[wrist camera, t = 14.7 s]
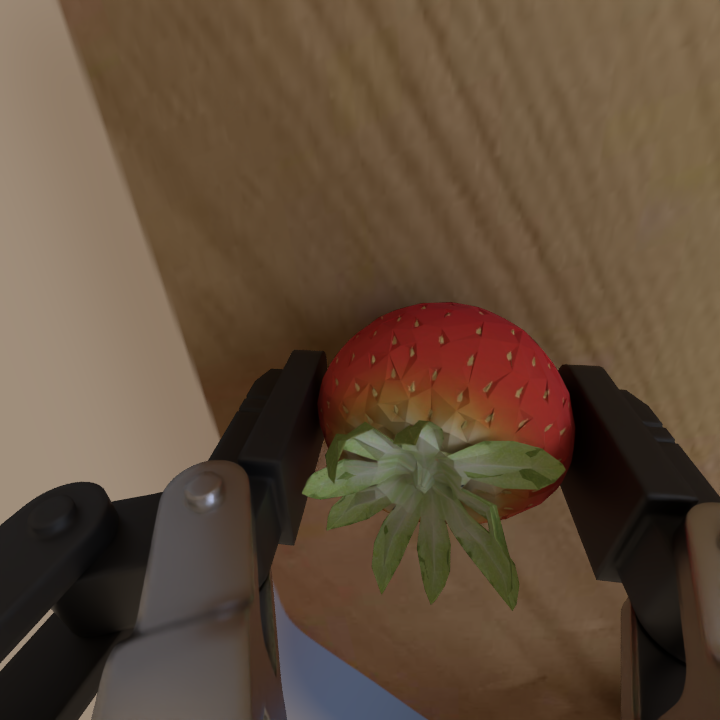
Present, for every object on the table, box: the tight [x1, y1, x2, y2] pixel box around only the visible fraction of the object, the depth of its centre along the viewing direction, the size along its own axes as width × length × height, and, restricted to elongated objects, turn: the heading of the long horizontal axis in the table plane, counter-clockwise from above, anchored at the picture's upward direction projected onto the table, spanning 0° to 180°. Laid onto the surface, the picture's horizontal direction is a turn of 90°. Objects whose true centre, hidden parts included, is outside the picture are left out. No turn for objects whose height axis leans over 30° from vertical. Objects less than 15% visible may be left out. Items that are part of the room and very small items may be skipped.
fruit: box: [302, 302, 575, 611], centre depth 9 cm, size 5×5×8 cm
